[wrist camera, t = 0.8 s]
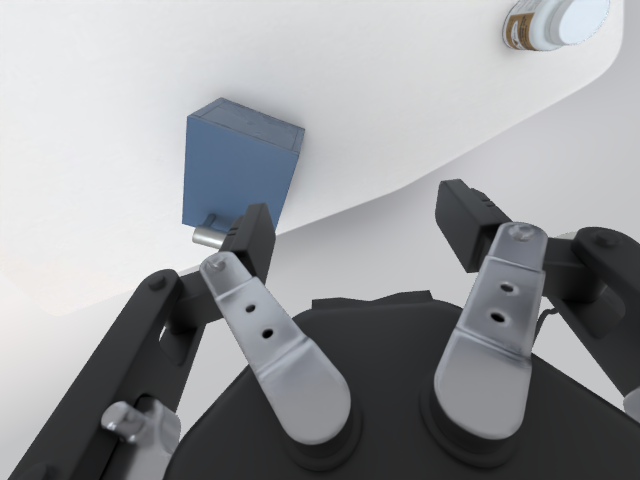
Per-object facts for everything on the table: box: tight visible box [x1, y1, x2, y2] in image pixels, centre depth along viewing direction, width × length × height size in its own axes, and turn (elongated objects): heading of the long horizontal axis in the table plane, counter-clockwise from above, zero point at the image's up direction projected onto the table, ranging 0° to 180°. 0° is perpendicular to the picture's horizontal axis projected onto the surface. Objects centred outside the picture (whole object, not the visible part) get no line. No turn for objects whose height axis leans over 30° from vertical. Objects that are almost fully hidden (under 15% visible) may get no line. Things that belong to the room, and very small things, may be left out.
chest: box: [191, 98, 305, 153], centre depth 32 cm, size 12×11×9 cm
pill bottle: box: [503, 0, 610, 51], centre depth 24 cm, size 4×4×8 cm
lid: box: [182, 115, 299, 249], centre depth 27 cm, size 12×11×5 cm
